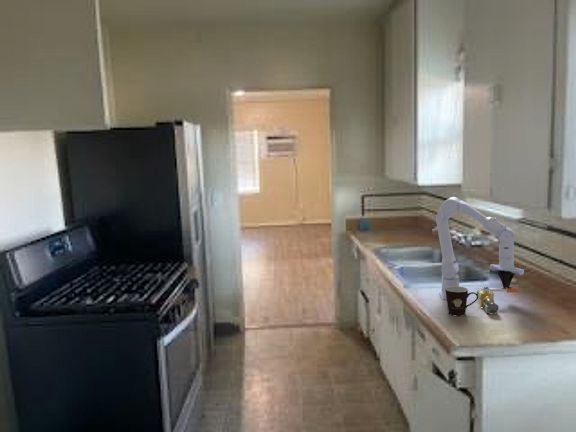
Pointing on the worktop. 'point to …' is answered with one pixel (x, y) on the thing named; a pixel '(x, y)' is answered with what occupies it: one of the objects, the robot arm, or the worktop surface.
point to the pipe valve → (487, 301)
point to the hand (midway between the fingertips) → (506, 288)
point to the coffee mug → (457, 300)
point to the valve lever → (502, 289)
